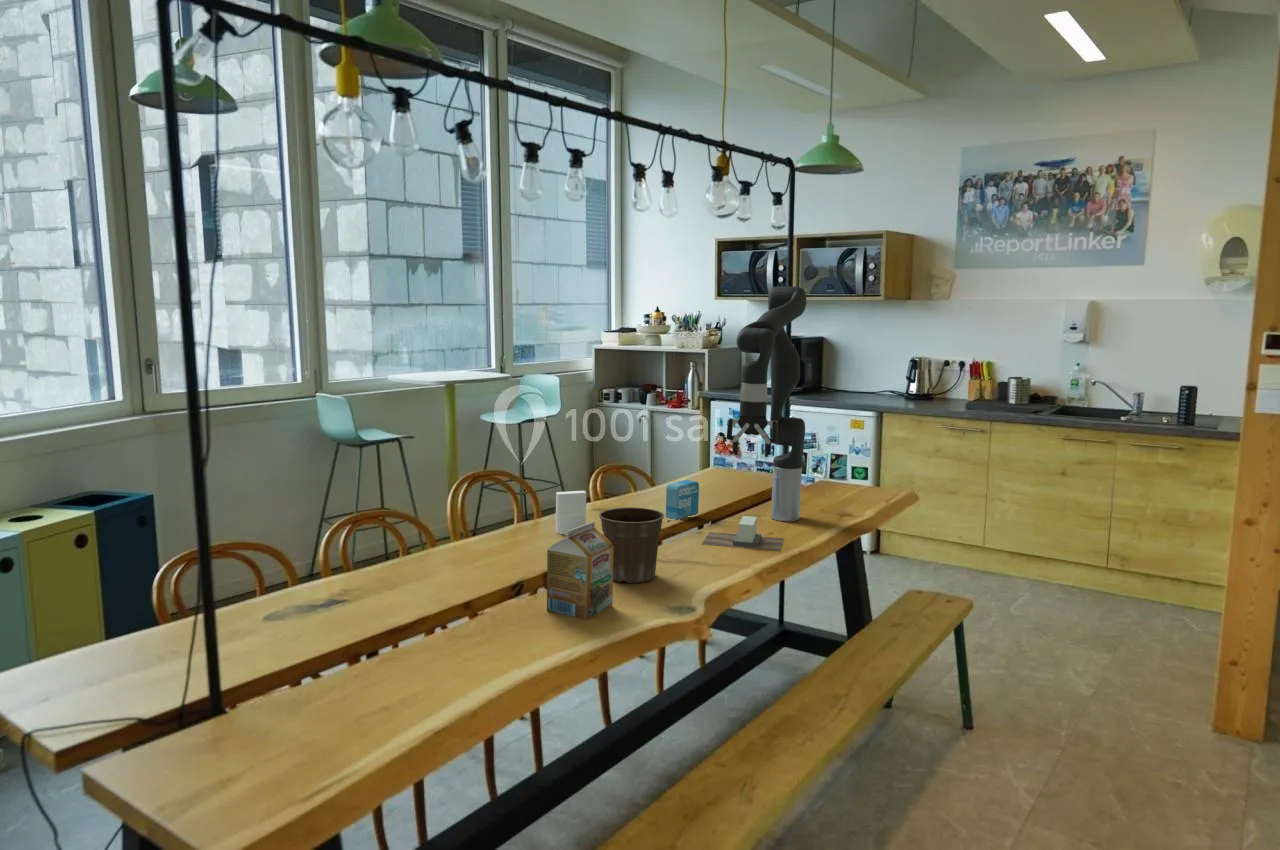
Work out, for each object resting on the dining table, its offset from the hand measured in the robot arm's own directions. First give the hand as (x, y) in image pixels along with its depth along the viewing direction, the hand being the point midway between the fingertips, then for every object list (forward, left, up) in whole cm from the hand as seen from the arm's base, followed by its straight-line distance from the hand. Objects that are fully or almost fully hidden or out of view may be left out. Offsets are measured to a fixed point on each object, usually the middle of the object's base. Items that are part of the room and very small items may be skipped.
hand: (751, 455), depth 246 cm
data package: (-24, -24, -26) cm, 43 cm away
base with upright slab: (+2, -53, -26) cm, 59 cm away
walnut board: (+2, -1, -26) cm, 26 cm away
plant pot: (+39, -25, -26) cm, 53 cm away
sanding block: (+2, 0, -25) cm, 25 cm away
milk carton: (+65, -30, -26) cm, 76 cm away
